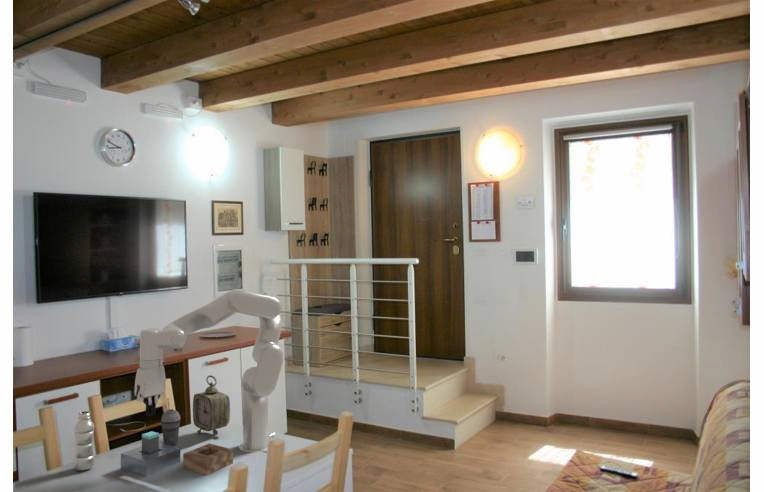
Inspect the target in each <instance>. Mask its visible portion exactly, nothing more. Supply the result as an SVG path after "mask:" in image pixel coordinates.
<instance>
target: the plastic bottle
mask: <svg viewBox="0 0 764 492" xmlns="http://www.w3.org/2000/svg"><path fill="white" fill-rule="evenodd" d="M90 418H91V411H81V412H79V413H78V417H77V419H78V421H77V422H76V423H75V426H74V428H73V431H74V438H75V453H74V459H73V468H74V469H75V470H76V471H80V472H81V471H82V472H83V471H86V470H90V469H91V468H93V466H94V463H95V456H94V446H93V442H94V441H93V440H94V433H95V424H94V422H93V421H92V420H91V419H90Z"/></svg>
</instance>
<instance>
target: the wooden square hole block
mask: <svg viewBox="0 0 764 492" xmlns="http://www.w3.org/2000/svg"><path fill="white" fill-rule="evenodd" d="M182 458H183V459H182V468H183V469H184V470H189V471H191V472H194V473H195V472H196V473H199V474H201V475H204V476H209V475H212V474H214V473H216V472H217V471H219V470H220V471H221V470H222V469H224V468H226V467H228V466H231V465H233V464H234V449H232V448H230V447H225V446H222V445H217V444H213V443H206V444H204V445H202V446H199V447H197V448H194V449H192V450H189V451H187V452H184V453H183V454H182Z"/></svg>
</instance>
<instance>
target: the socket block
mask: <svg viewBox="0 0 764 492" xmlns="http://www.w3.org/2000/svg"><path fill="white" fill-rule="evenodd" d="M180 463H181V448H180V447H178V446H177V447H173V446H170V445H166V444H164V443H163V442H159V452H156V453H153V454H151V455H148V454H145V453H142V445H141V446H138V447H135V448H132V449H129V450H126V451H123V452H121V453H120V471H121V472H124V473H128V472H133V473H136V474H139V475H142V476H145V477H149V476H150V475H154V474H156V473H158V472H161V471H163V470H166V469H168V468H170V467H172V466H175V465H177V464H180Z"/></svg>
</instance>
